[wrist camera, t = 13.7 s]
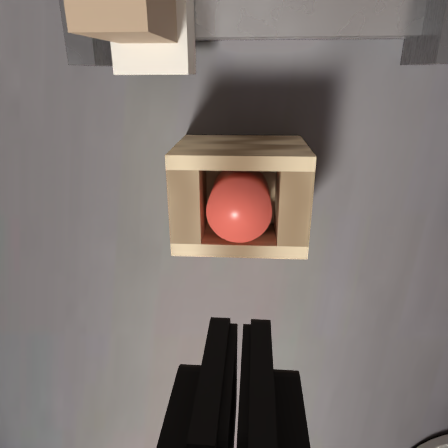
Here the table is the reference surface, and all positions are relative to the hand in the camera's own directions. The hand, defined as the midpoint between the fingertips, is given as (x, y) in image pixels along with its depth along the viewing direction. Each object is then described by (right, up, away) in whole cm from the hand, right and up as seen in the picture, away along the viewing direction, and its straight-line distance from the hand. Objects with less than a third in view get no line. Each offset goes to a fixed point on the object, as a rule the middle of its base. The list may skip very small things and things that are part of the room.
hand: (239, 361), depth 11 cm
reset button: (+1, +6, +13) cm, 15 cm away
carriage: (-4, +16, +11) cm, 20 cm away
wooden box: (+1, +7, +17) cm, 18 cm away
